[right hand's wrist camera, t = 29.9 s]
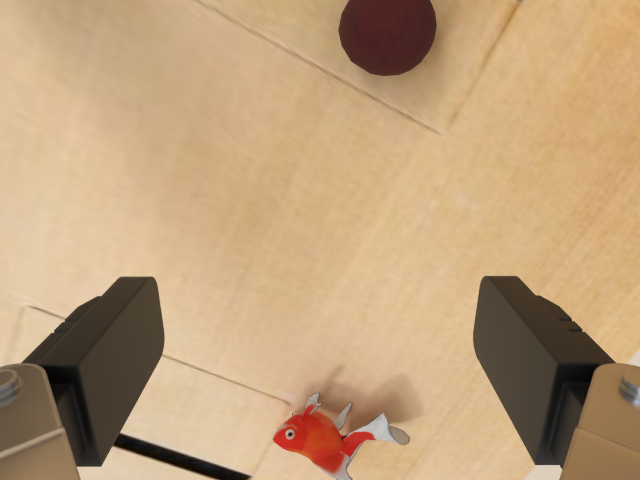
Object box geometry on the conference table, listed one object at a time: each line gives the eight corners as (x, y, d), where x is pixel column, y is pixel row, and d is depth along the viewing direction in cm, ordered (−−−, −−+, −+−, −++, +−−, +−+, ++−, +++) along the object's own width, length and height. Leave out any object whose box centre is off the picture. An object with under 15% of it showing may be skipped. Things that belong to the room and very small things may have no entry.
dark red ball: (423, 73, 41) (442, 75, 34) (337, 76, 41) (340, 78, 34) (427, -19, 38) (450, -37, 32) (336, -16, 38) (340, -34, 32)
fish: (309, 364, 47) (327, 468, 40) (412, 376, 55) (440, 464, 49) (257, 403, 53) (266, 499, 47) (357, 409, 61) (376, 491, 55)
